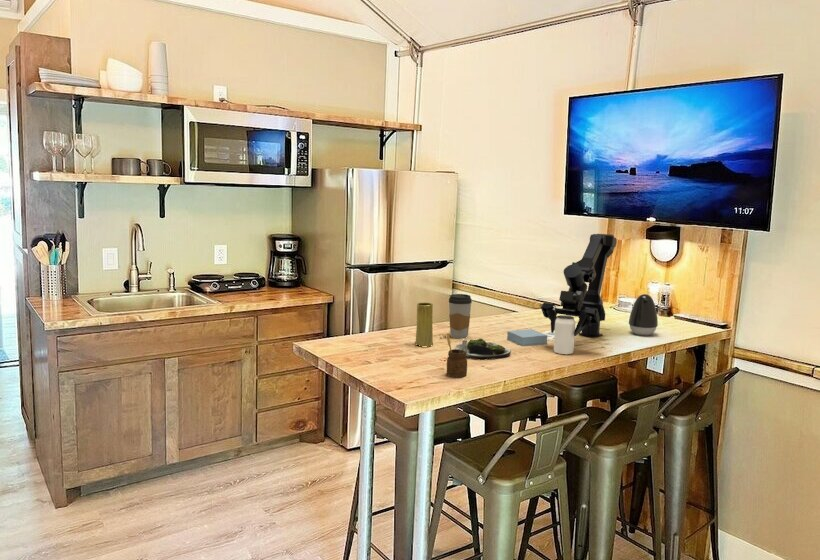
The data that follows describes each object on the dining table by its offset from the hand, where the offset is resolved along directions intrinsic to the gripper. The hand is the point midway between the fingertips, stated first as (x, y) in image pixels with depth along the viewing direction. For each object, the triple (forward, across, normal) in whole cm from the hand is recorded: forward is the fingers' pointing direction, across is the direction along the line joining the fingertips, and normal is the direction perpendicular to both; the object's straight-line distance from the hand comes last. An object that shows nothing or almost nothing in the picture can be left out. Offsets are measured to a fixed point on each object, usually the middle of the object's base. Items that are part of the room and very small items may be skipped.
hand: (563, 333), depth 212 cm
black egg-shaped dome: (-27, +16, +36) cm, 48 cm away
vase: (+17, -43, -7) cm, 47 cm away
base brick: (-1, -16, +10) cm, 19 cm away
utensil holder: (+34, -18, -24) cm, 45 cm away
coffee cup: (+4, -39, +5) cm, 39 cm away
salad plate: (+16, -22, -6) cm, 28 cm away
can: (+4, 0, +6) cm, 7 cm away
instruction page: (-11, -12, +20) cm, 26 cm away
